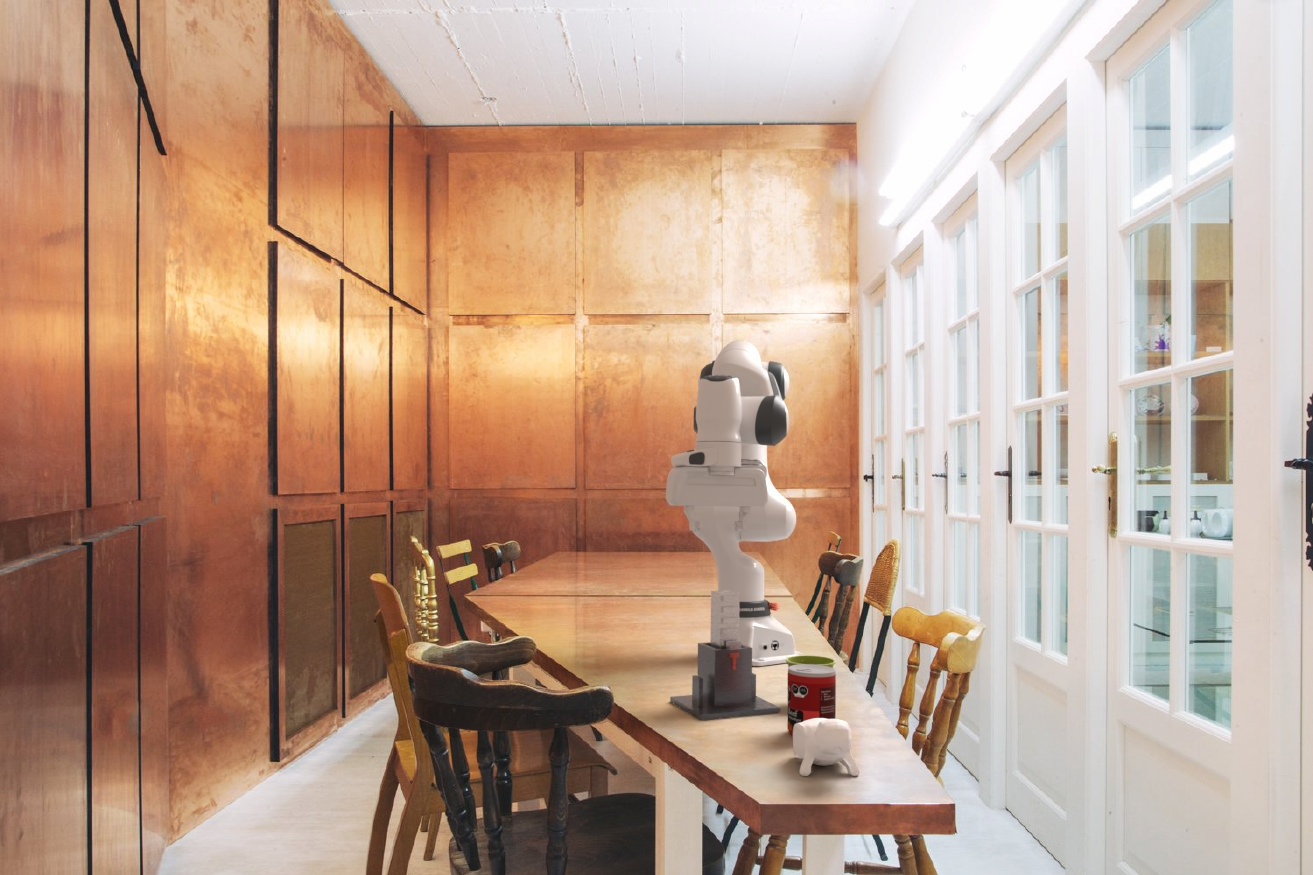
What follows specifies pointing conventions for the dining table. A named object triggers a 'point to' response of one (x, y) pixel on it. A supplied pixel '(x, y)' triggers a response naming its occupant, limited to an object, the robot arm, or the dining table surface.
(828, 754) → the white molar tooth
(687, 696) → the stand
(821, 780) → the dining table surface
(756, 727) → the dining table surface
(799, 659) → the plant pot
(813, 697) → the canned food
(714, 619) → the column
